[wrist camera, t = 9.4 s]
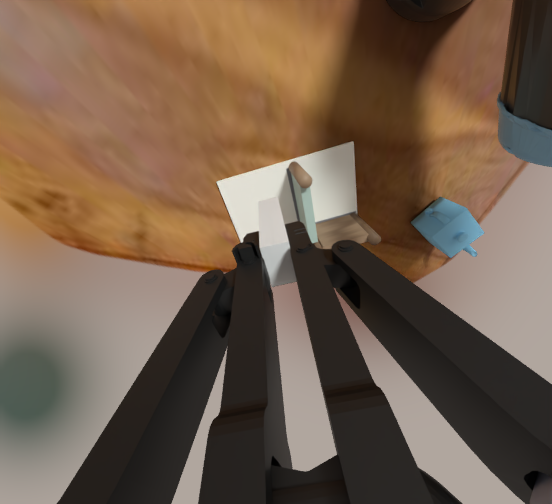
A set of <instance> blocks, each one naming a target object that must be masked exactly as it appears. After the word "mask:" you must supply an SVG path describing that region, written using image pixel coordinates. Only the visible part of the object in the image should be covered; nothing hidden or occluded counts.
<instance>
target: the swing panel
mask: <svg viewBox="0 0 552 504" xmlns="http://www.w3.org/2000/svg"><path fill="white" fill-rule="evenodd" d="M289 170H290V172H291V176H292V181H293V186H294V192H295V197H296V202H297V208H298V213H299V218H300V222H302V223H304V225H305V228H306V230H307V232H308V235H309V237H310V240H311V242H312V243H316V242H318V238H317V231H316V224H315V218H314V211H313V204H312V197H311V190H310V186H311V184H312V177H311V176H310V175H309V174H308V173H307V172H306V171H305V170H304V169H303V168H302V167H301V166H300V165H299V164H298V163H297V162H295V161H294V162H291V163H290V164H289Z"/></svg>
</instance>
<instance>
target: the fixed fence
mask: <svg viewBox="0 0 552 504" xmlns="http://www.w3.org/2000/svg"><path fill="white" fill-rule="evenodd" d="M316 231H317V238H318V242H316V243H313V244H314V245H315V246H316V247H317V248H320V249H331V248H332V245H333V244H334V243H336V242H337V241H341V240H353V241H355V242H357V243H359V244H360V243H364V242H368V241H369V242H370V243H371V244H372V245H377V244H378V243H379V242H380V241H381V237H380V236H379V235H378V234H377V233H376V232H375V231H374V230H373V229H372V228H371V227H370V226H369V225H368V224H367V223H366V222H365V221H364V220H362V219H361V218H360V217H359V216H358V215H357V214H356V213H351V214H350V215H346V216H343V217H339V218H335V219H332V220H328V221H325V222H321V223H318V224H316Z"/></svg>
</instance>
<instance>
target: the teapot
mask: <svg viewBox="0 0 552 504" xmlns="http://www.w3.org/2000/svg"><path fill="white" fill-rule="evenodd" d="M410 223H411V224H412V225H413V226H414V227H415V228H416V229H417V230H418V231H419V232H420V233H421V234H422V235H423V236H424V237H425V239H426V240H427V241H428V242H429V243H431V244H432V245H433V246H435V247H436V248H438V249H439V250H440V251H442V252H443V253H445V254H446V255H447V256H449V257H450V258H452V257H453V256H454V255H456V254H457V253H458V252H460V251H461V250H462V249H463V250H465V251H466V252H468V253H469V254H471V255H472V256H474V257H475V256H477V252H476V251H475V250H474V249H473V248H472V247H471V246H470V245H469V244H471V243H472V242H473V241H475V240H476V239H477V238H478V237H480V236H481V235H483V234H484V231H483V230H482V229H481V227H480V226H479V224H478V223H477V222H476V220H475V219H474V218H473V216H472V215H471V213H470V212H469V211H468V209H467V208H465V207H463V206H461V205H458V204H456V203H454V202H452V201H449V200H447V199H445V198H443V197H439V198H438V199H437V200H436V201H435V202H433V203H432V204H431V205H430V206H429V207H428V208H426V209H425V210H424V211H423V212H422V213H421V214H420V215H418V216H417V217H416V218H415V219H414V220H413V221H411V222H410Z"/></svg>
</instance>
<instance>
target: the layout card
mask: <svg viewBox="0 0 552 504" xmlns="http://www.w3.org/2000/svg"><path fill="white" fill-rule="evenodd" d="M294 161H295V162H297V163H298V164H299V165H300V166H301V167H302V168H303V169H304V170H305V171H306V172H307V173H308V174H309V175H310V176H311V177H312V184H311V186H310V190H311V197H312V204H313V211H314V218H315V224H318V223H321V222H325V221H328V220H332V219H335V218H339V217H343V216H346V215H350V214H351V213H356V214H357V197H356V177H355V157H354V141H352V142H348V143H345V144H341V145H338V146H335V147H331V148H328V149H325V150H321V151H318V152H314V153H311V154H308V155H304V156H301V157H297V158H294V159H291V160H287V161H284V162H281V163H277V164H274V165H270V166H267V167H264V168H260V169H257V170H254V171H250V172H247V173H243V174H240V175H237V176H233V177H230V178H227V179H223V180H220V181H217V185H218V187H219V190H220V192H221V195H222V197H223V199H224V202H225V204H226V207H227V209H228V212H229V214H230V217H231V219H232V222H233V224H234V226H235V229H236V231H237V234H238V236H239V239H240V241H241V243H242V242H243V238H244V237H245V236H246V234H248V233H252V232H256V231H259V213H258V201H262V200H266V199H270V198H274V197H278V200H279V204H280V208H281V212H282V216H283V220H284V224H288V223H292V222H296V221H300V218H299V213H298V208H297V202H296V197H295V192H294V186H293V181H292V176H291V172H290V170H289V164H290V163H291V162H294Z"/></svg>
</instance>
